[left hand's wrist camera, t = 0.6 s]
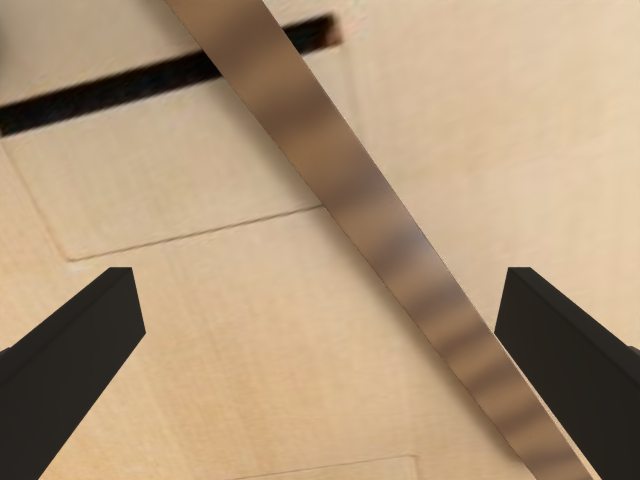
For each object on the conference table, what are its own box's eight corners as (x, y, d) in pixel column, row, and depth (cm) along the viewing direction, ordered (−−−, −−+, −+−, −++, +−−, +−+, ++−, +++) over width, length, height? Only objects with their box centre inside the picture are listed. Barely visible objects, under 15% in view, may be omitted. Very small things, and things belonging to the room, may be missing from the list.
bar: (126, -74, 27) (58, -136, 20) (172, -125, 26) (117, -209, 19) (537, 466, 49) (575, 529, 42) (571, 451, 48) (616, 512, 41)
